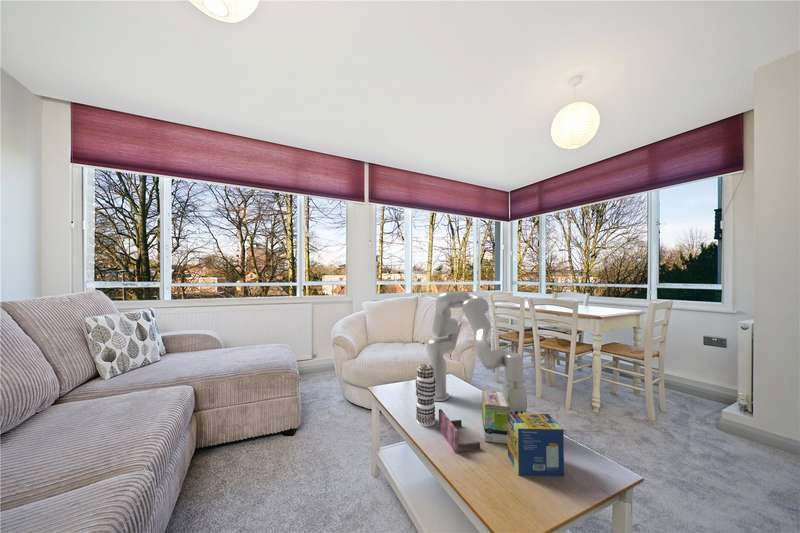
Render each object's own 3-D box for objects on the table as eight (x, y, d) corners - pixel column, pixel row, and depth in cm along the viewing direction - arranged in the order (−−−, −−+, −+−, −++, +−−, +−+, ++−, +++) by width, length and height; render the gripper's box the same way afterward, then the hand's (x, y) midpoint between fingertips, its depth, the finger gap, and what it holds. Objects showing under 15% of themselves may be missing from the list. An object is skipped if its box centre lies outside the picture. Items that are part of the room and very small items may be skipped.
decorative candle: (440, 423, 129) (439, 366, 130) (423, 429, 124) (423, 370, 125) (428, 414, 137) (427, 361, 138) (411, 419, 132) (411, 364, 133)
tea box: (511, 444, 112) (510, 406, 113) (484, 441, 114) (484, 404, 115) (505, 425, 127) (504, 391, 128) (481, 422, 129) (481, 389, 130)
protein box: (507, 456, 106) (506, 413, 106) (549, 456, 105) (549, 413, 106) (517, 476, 95) (517, 428, 96) (565, 476, 95) (564, 428, 95)
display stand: (438, 428, 125) (438, 409, 125) (460, 425, 127) (460, 406, 127) (455, 453, 107) (454, 431, 108) (480, 449, 110) (480, 428, 110)
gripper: (523, 378, 128) (524, 420, 128) (493, 381, 125) (494, 424, 125) (535, 384, 121) (536, 429, 120) (503, 388, 118) (504, 433, 117)
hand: (514, 426), depth 123 cm, fingers closed
